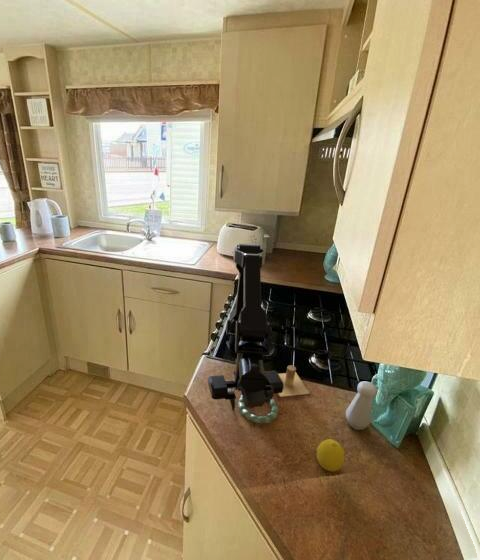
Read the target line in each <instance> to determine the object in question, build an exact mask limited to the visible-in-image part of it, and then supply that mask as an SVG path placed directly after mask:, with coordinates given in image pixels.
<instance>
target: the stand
mask: <svg viewBox="0 0 480 560" xmlns="http://www.w3.org/2000/svg"><path fill="white" fill-rule="evenodd" d="M296 371H297V367H296V366H294V365H293V364H290V365H288V366H287V367H286V372H283V373H278V375H279V376H280V378H281V380H282V382H283V384H284V388H283V392H282V393H277V394H278V396H279V397H280V398H284V397H295V396H304V395H305V396H306V395H310V394H311V393H310V391H309V389H308V388H307V387H306V385H305V384H304V382H303V381H302V379H301V377H300V376H299V375H298V373H297V372H296Z"/></svg>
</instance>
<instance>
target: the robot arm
mask: <svg viewBox="0 0 480 560" xmlns="http://www.w3.org/2000/svg"><path fill="white" fill-rule="evenodd" d="M265 261H266V250H265V248H263V247H261V244H259V243H238V244H236V246H234V248H233V263H235V268H236V269H237V272H238V281H237V282H238V283H237V290H236V299H235V307H234V309H233V310H232V311H230V313H229V318H228V319H227V320H226V325H225V326H226V327H225V331H226V334H225V335H226V337H229V340H226V341H225V344H226V347H227V350H228V351H229V353H230V354H232V355H233V354H237V355H236V358H235V359H234V362H235V370H234V371H233V376H234V378H232V380H226V378H225V376H224V375H223V374H221V375H210V376H209V377H208V378H207V384H208V389H209V393H210V396H211V399H212V400H229V403H230V406H231V408H232V411H235V409H236V400H237V397H236V393H235V391H238V392H240V393H241V396H242V397H243V400H244V405H245V407H246V409H253V408H257V407H259V408H260V407H263V406H264V404H265V403H269V402H270V399H272V398H273V399H274V394H278V393H282V392H283V388H284V384H283V382H282V380H281V378H280V376H279V375H278V374H279V373H278V372H277V371H276V370H266V369H265V363H264V360H263V356H270V354H271V353H270V352H271V351H270V350H271V349H272V348H273V335H272V333H273V331H272V327H271V324H270V322H268V314H267V312H266V310H265V309H264V308H263V306H262V283H261V282H262V280H261V278H262V277H261V270H262V267H263V265H265ZM262 343H265V345H262Z"/></svg>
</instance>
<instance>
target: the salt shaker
mask: <svg viewBox="0 0 480 560" xmlns="http://www.w3.org/2000/svg"><path fill="white" fill-rule="evenodd" d="M356 391H357V393H356V395H355V396H354V397H353V399H352V401H351V402H350V404H349V405H348V407H347V409H346V410H345V418H346V421H347V424H348V426H350V427H351V428H353V429H354V430H355V431H356V430H357V431H358V430H359V431H362V430H365V429H366V428H368V427H369V426H370V424H371V418H372V408H373V407H372V406H373V399H374V398H375V397H376V396H377V395H378V388H377V387H376V385H374V384H373V382H370V381H366V380H365V381H360V382H358V384H357V388H356Z"/></svg>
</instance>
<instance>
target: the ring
mask: <svg viewBox="0 0 480 560" xmlns="http://www.w3.org/2000/svg"><path fill="white" fill-rule="evenodd" d="M268 404H269V406H270V408H271V409H270V412H269V413H268V414H267V415H261V416H260V415H256V414H254V413H251V412H250V411H249V410H248V409H247V407H246V406H245V405H244V400H243V397H242V395H240V396H239V399H238V402H237V406H238V410H239V413H240V414H241V415H242V416H244V418H245V419H246V420H248V421H251V422H254V423H257V424H268V423H272V422H273V421H274V420H275V419H276V418H277V417H278V415H279V414H278V413H279V406H278V404H277V402H276V400H275V399H274V397H273V398H272V399H270V402H268Z"/></svg>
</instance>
